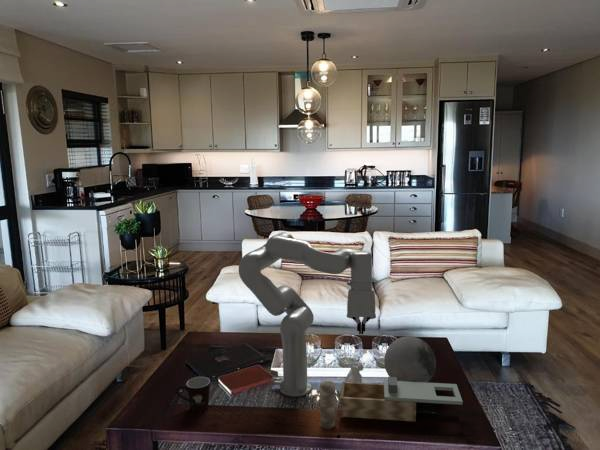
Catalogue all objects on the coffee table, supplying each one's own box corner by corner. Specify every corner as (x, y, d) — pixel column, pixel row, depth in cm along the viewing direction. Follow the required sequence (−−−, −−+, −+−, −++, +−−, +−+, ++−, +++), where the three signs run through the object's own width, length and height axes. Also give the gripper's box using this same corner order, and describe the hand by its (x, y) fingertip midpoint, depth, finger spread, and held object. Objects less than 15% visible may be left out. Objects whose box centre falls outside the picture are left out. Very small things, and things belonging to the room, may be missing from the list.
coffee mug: (215, 403, 180) (214, 378, 178) (203, 415, 172) (202, 389, 170) (188, 398, 184) (187, 374, 182) (176, 410, 176) (174, 384, 174)
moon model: (390, 399, 180) (390, 349, 177) (379, 374, 200) (380, 329, 197) (442, 397, 181) (443, 348, 178) (426, 373, 201) (427, 328, 197)
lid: (384, 400, 164) (384, 388, 164) (383, 383, 176) (383, 372, 175) (462, 404, 161) (463, 393, 160) (456, 387, 172) (456, 376, 172)
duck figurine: (353, 399, 185) (371, 378, 183) (338, 387, 185) (355, 366, 183) (354, 384, 197) (371, 364, 194) (340, 372, 197) (356, 353, 195)
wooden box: (340, 419, 168) (340, 398, 167) (342, 401, 180) (342, 381, 178) (415, 424, 164) (416, 402, 163) (412, 405, 176) (413, 385, 175)
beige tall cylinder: (320, 428, 162) (319, 387, 160) (321, 420, 167) (320, 380, 165) (334, 429, 162) (334, 388, 159) (335, 421, 167) (335, 381, 164)
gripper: (340, 287, 170) (340, 336, 173) (382, 288, 167) (381, 337, 170) (341, 281, 177) (341, 328, 180) (382, 282, 175) (381, 330, 178)
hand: (361, 332), depth 175 cm, fingers closed
